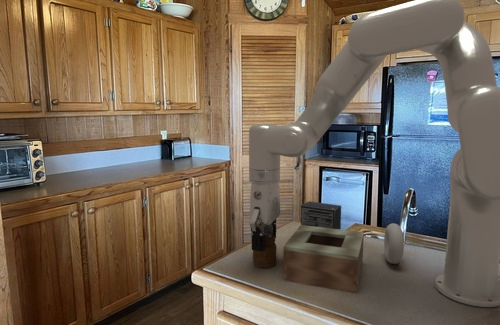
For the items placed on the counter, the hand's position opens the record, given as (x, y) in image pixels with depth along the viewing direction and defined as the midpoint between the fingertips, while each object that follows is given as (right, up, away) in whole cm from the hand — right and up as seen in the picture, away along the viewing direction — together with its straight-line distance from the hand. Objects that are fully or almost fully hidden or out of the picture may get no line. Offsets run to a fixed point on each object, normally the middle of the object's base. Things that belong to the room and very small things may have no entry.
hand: (264, 243), depth 90 cm
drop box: (+14, -6, -4) cm, 16 cm away
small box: (+17, -3, +17) cm, 25 cm away
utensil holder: (0, -5, +1) cm, 5 cm away
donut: (+32, -5, +1) cm, 33 cm away
